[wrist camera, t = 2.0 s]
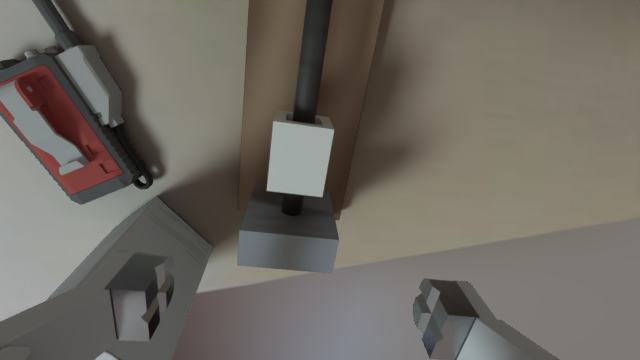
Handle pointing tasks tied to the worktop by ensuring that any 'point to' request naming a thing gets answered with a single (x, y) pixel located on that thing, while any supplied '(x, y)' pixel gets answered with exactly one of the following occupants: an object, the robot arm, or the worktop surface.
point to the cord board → (283, 79)
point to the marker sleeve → (299, 155)
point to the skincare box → (189, 264)
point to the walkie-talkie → (70, 115)
